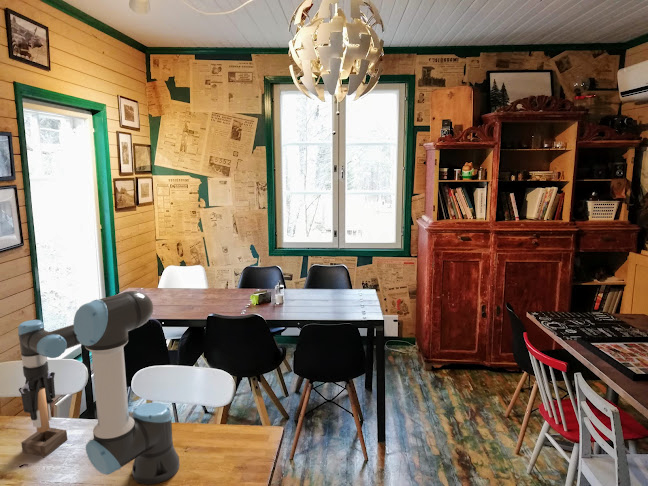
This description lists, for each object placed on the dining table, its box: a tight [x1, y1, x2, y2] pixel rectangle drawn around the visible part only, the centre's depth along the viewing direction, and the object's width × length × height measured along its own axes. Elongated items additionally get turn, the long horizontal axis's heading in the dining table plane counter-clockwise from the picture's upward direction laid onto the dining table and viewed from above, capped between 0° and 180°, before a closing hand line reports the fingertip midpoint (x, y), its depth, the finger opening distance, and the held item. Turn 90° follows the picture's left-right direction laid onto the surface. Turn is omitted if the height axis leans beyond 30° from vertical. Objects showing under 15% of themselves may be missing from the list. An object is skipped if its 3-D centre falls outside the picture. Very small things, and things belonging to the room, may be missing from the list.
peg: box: [35, 387, 51, 433], centre depth 165 cm, size 4×4×16 cm
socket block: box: [20, 427, 68, 458], centre depth 168 cm, size 10×10×4 cm
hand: (42, 422), depth 166 cm, fingers closed on peg, 4 cm apart
